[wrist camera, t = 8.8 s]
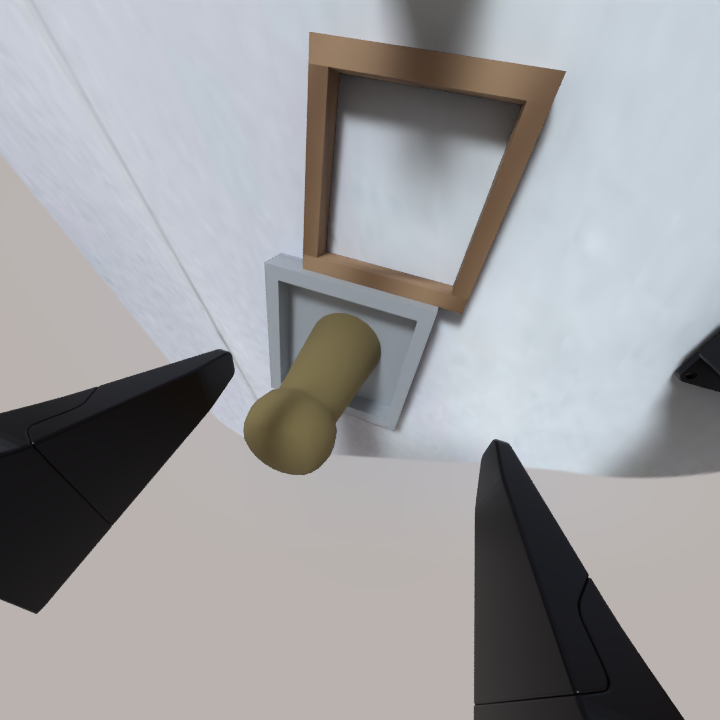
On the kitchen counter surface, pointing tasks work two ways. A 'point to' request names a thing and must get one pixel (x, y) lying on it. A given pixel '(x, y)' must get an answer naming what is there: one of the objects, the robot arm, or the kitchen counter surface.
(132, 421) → the robot arm
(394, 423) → the tray
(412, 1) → the kitchen counter surface
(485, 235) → the wooden picture frame
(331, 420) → the cork
